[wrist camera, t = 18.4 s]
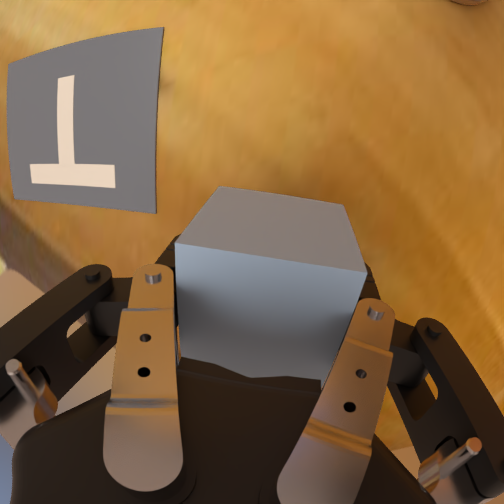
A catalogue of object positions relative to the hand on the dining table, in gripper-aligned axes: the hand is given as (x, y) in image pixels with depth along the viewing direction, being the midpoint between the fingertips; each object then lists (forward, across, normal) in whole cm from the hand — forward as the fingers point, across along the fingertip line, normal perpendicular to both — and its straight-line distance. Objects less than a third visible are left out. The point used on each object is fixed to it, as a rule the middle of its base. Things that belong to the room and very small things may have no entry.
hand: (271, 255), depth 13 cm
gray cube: (+1, 0, 0) cm, 1 cm away
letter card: (+15, +23, -3) cm, 27 cm away
